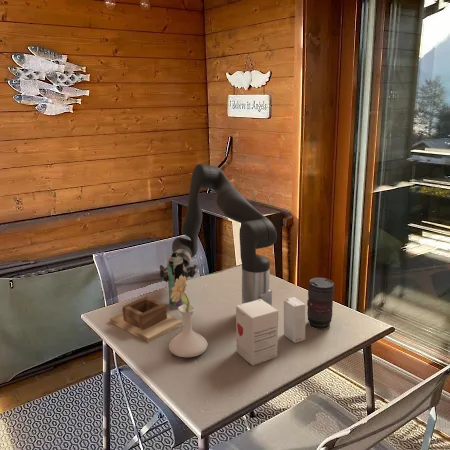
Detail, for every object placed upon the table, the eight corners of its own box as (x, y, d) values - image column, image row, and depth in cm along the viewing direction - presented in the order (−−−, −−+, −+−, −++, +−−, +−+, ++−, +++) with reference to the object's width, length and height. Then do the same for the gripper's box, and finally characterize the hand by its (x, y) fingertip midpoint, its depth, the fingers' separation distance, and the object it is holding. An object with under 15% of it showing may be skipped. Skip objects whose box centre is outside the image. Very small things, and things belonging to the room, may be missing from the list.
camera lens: (317, 333, 147) (319, 289, 143) (301, 322, 154) (303, 280, 150) (337, 326, 151) (340, 283, 147) (320, 316, 158) (323, 275, 154)
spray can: (184, 308, 165) (181, 255, 159) (168, 308, 165) (165, 255, 159) (185, 301, 170) (183, 249, 164) (170, 301, 170) (167, 249, 164)
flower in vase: (171, 340, 144) (168, 264, 137) (208, 340, 144) (207, 264, 137) (165, 364, 132) (160, 282, 125) (205, 364, 131) (203, 282, 124)
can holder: (182, 325, 153) (181, 307, 151) (148, 342, 143) (147, 323, 141) (142, 307, 166) (141, 290, 164) (109, 322, 156) (108, 304, 154)
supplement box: (235, 351, 138) (234, 304, 134) (260, 343, 142) (261, 297, 138) (251, 366, 130) (252, 317, 126) (278, 357, 135) (279, 310, 130)
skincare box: (305, 340, 144) (307, 304, 140) (293, 343, 142) (294, 307, 138) (294, 331, 149) (295, 296, 145) (282, 334, 147) (283, 299, 144)
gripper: (161, 252, 177) (153, 269, 161) (199, 252, 177) (195, 269, 161) (162, 271, 179) (154, 289, 163) (199, 270, 179) (196, 289, 163)
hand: (175, 279), depth 162 cm, fingers closed on spray can, 5 cm apart
